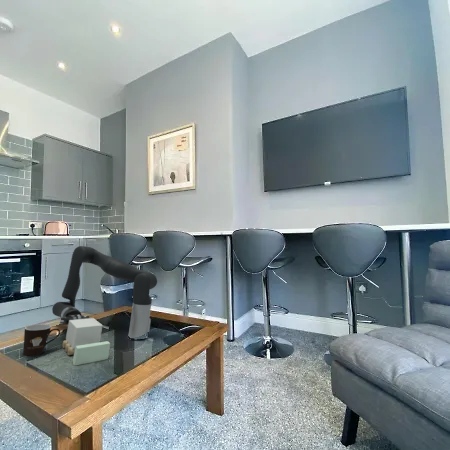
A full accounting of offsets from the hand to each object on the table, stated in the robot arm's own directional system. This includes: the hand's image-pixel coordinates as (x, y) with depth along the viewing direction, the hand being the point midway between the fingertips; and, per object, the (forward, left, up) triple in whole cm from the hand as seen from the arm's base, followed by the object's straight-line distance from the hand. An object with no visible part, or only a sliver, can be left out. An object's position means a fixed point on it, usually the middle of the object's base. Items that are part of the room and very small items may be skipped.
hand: (80, 324), depth 113 cm
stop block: (0, +21, -9) cm, 23 cm away
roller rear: (0, +3, -9) cm, 9 cm away
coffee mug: (+15, +4, -9) cm, 18 cm away
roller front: (0, +12, -9) cm, 15 cm away
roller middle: (0, +7, -9) cm, 11 cm away
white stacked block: (0, +7, -6) cm, 9 cm away
